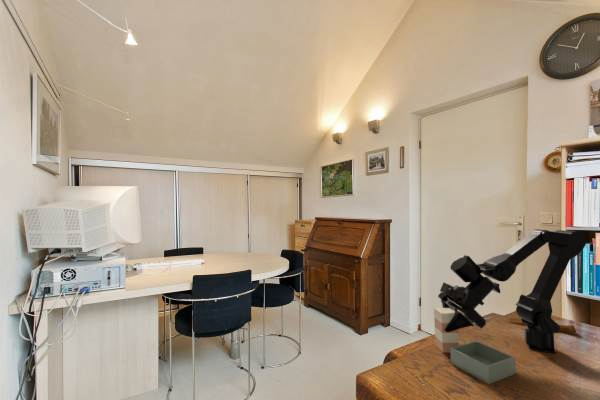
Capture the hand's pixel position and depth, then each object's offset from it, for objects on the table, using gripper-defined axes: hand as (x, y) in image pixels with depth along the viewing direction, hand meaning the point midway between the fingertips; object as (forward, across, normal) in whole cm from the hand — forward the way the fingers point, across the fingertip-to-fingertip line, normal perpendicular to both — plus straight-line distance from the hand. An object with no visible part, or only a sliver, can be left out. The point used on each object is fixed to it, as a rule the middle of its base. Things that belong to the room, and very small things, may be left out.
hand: (441, 327), depth 91 cm
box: (+1, +11, +9) cm, 14 cm away
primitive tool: (-25, -16, +36) cm, 46 cm away
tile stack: (+4, 0, +6) cm, 7 cm away
